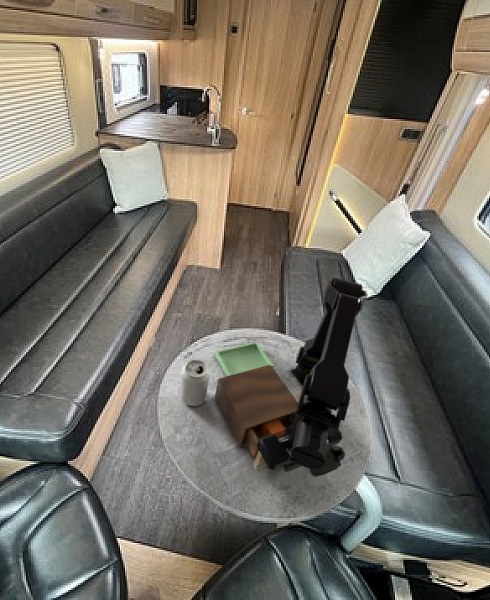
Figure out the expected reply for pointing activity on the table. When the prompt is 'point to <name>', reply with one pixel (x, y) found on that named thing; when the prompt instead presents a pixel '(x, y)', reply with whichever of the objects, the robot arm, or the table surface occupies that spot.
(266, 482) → the table surface
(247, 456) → the table surface
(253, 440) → the drawer
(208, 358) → the table surface
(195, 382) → the can
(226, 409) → the cabinet
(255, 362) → the tray
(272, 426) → the cube
